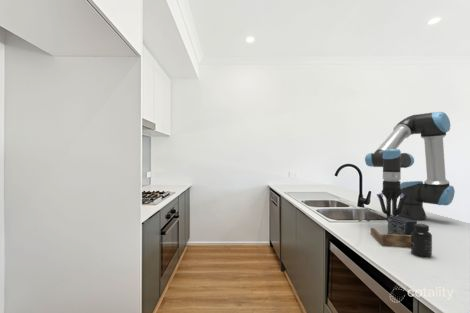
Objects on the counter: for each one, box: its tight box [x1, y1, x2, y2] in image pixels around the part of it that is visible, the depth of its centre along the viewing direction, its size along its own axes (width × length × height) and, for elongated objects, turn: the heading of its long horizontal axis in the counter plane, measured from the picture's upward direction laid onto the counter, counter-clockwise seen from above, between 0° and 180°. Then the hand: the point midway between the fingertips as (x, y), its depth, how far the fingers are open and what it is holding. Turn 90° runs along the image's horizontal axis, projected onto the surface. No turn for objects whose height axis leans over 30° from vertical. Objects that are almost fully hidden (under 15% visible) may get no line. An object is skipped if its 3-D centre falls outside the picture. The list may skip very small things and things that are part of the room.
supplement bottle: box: [410, 222, 433, 258], centre depth 103 cm, size 7×7×12 cm
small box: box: [387, 216, 418, 235], centre depth 119 cm, size 11×6×10 cm, turn 13°
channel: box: [370, 227, 411, 249], centre depth 119 cm, size 18×18×5 cm
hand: (391, 228), depth 126 cm, fingers closed
